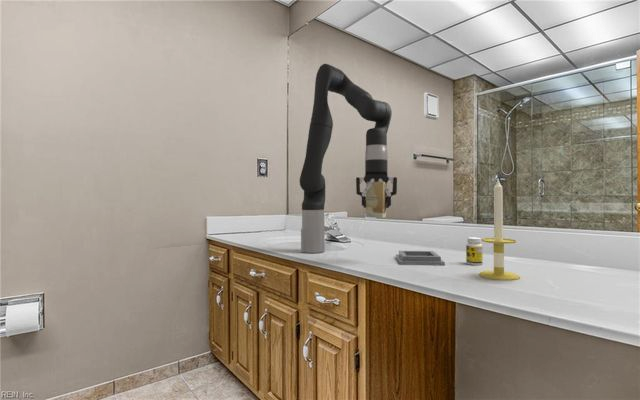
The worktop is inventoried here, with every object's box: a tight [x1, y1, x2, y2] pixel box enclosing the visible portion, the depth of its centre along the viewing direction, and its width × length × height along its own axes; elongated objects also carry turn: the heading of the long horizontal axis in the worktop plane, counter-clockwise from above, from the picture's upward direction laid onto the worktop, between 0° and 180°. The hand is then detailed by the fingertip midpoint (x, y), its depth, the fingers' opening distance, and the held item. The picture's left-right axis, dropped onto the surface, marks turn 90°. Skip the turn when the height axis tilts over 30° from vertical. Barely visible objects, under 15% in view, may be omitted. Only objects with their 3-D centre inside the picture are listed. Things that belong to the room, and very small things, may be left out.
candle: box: [478, 179, 521, 281], centre depth 92 cm, size 10×10×27 cm
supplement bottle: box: [465, 236, 483, 266], centre depth 109 cm, size 5×5×8 cm
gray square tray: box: [395, 250, 446, 266], centre depth 115 cm, size 14×14×2 cm
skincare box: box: [365, 182, 388, 219], centre depth 115 cm, size 6×4×12 cm
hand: (376, 207), depth 115 cm, fingers closed on skincare box, 7 cm apart
